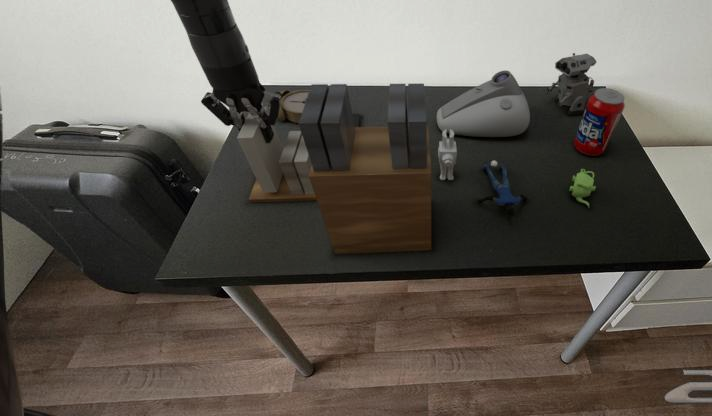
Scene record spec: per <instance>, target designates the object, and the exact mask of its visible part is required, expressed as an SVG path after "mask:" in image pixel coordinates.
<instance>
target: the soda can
mask: <svg viewBox="0 0 712 416" xmlns="http://www.w3.org/2000/svg"><path fill="white" fill-rule="evenodd" d="M624 101H625V96H624V94H623V93H621V92H620V91H619V90H616V89H613V88H611V87H610V88H608V87H601V88H597V89H596V90H595V91H594V93H593V94H591V95H590V97H589V98H588V101H587V104H586V105H585V106H586V107H585V108H584V113H583V115H582V118H581V121H580V124H579V126H578V128H577V132H576V135H575V137H574V141H573V145H574V147H575V149H576V150H577V151H579V152H580V153H581V154H584V155H586V156H592V157H596V156H600V155H603V154H604V153H605V152H606V150H607V147H608V145H609V143H610V141H611V139H612V136H613V134H614V132H615V131H616V130H615V129H616V127H617V125H618V123H619V120H620V119H621V116H622V114H623V112H624V110H625V107H626V104H625V102H624Z"/></svg>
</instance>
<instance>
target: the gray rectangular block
mask: <svg viewBox="0 0 712 416" xmlns="http://www.w3.org/2000/svg"><path fill="white" fill-rule="evenodd" d="M264 107H265V111H266V113H267V115H269V114H270V111H269V110H268V109H267V106H264ZM247 114H248V115H247V117H246V120H245V122H244V124H243V126H242V128H241V130H240V132H239V131H238V132H239V133H238V135H237V136H236V140H237V141H238V144H239V146H240V148H241V150H242V152H243V154H244V157H245V158H246V160H247V163H248V165H249V167H250V168H251V170H252V173H253V174H254V176H255V180H256V179H257V181H258V183H259V185H260V187H261V189H262V191H263V193H267V192H277V191H278V188H279V185H280V182H281V179H282V176H283V171H282V168H281V166H280V164H279V161H280V158H281V155H282V152H283V149H284V147H283V146H282V143H281V141H280V138H279V136H278V132H277V130H276V127H275V125H271V127H272V130H273V133H274V137H273V139H272V140H271V143H266V142H265V139H264V137H263V135H262V132H261V130H260V126H259V124H258V122H257V121H256V119H254V118H253V117H252V116H251V114H250V112H248V113H247Z"/></svg>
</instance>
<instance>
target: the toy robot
mask: <svg viewBox="0 0 712 416" xmlns="http://www.w3.org/2000/svg"><path fill="white" fill-rule="evenodd" d="M446 131H447V129H445V130H444V131H441V132H442V133H441V134H442V135H441V140H439V141H438V148H437V158H438V164H439V165H440V166H439V167H440V175H439V179H440V180H441V181H445V180H446V179H447V180H448V181H453V180H454V179H455V176H454V167H455V166H456V165H457V157H458V148H457V143H456V140H455V134H454V132H453V130H451V129H450V133H448V134H449V136H447V133H446ZM448 137H449V138H448ZM454 165H455V166H454Z"/></svg>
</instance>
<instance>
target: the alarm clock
mask: <svg viewBox="0 0 712 416" xmlns="http://www.w3.org/2000/svg"><path fill="white" fill-rule="evenodd" d="M309 91H310V89H298V90H293V91H289V90H284V89H283V90H281V91H279V92H280V93H281V94H282V98H281V104H280V109H279V114H278V118H277V120H279V121H284V122H285V121H286V120H288V121H290V122H292V123H296V124H299V121H300V118H301V115H302V112H303V109H304V106H305V103H306V100H307V97H308V94H309ZM266 107H267V109H268V112H270V108H271V107H270V106H269V105H268V103H267V102H266Z"/></svg>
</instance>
